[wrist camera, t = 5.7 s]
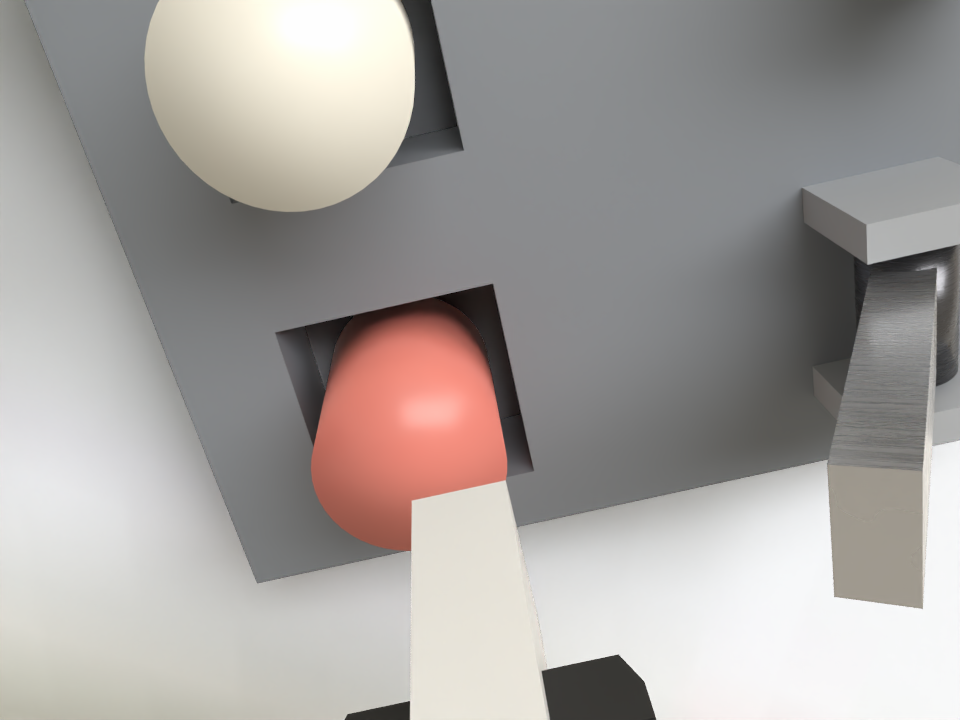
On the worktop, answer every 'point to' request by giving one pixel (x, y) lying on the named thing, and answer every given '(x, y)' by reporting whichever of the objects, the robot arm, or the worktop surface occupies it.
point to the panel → (557, 239)
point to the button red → (405, 419)
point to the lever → (891, 424)
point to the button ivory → (282, 94)
